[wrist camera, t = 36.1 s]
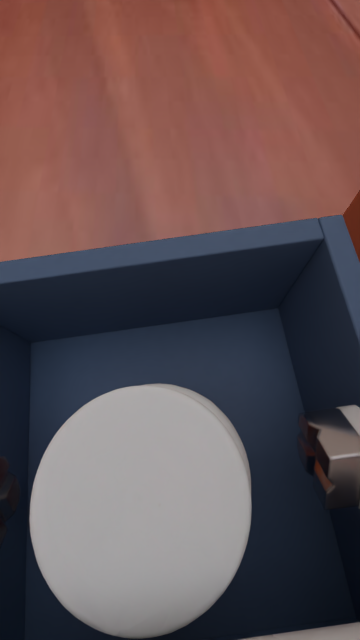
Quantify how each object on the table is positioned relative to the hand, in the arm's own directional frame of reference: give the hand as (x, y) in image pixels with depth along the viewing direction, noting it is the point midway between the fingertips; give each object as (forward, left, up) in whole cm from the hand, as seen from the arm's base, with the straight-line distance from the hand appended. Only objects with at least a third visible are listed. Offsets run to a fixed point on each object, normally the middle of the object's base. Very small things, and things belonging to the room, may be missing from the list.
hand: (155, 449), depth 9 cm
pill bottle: (0, +1, -5) cm, 5 cm away
